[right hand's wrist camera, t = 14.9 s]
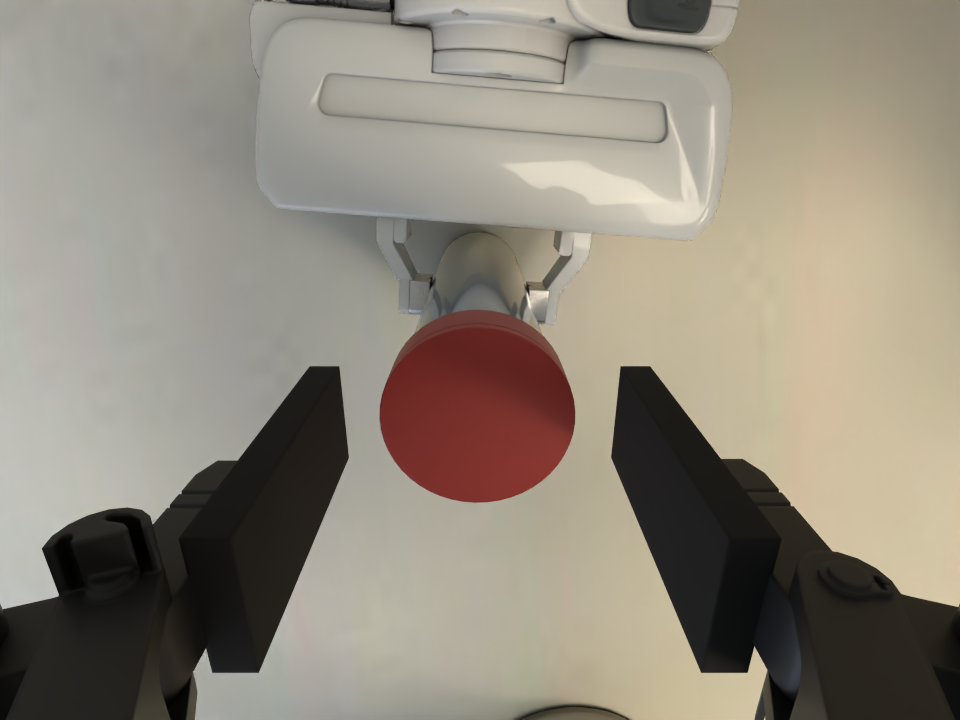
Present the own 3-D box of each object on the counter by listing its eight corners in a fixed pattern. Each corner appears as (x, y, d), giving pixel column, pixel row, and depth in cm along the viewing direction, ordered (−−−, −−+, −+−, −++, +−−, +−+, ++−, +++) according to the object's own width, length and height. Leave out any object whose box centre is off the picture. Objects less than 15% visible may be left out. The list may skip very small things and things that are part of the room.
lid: (588, 438, 17) (599, 469, 15) (430, 490, 18) (425, 525, 16) (532, 282, 15) (538, 297, 13) (359, 346, 16) (346, 368, 14)
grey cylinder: (529, 294, 33) (584, 456, 16) (456, 321, 34) (431, 506, 16) (502, 219, 32) (530, 306, 14) (426, 249, 32) (362, 367, 15)
